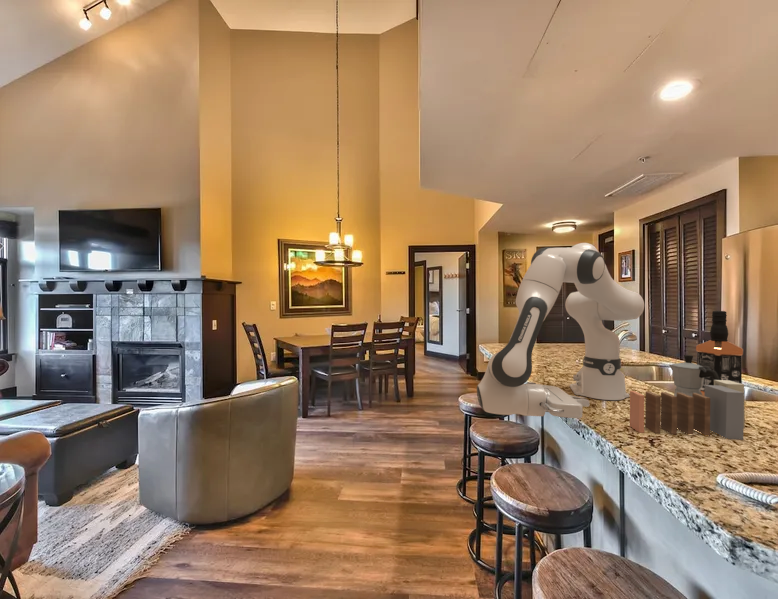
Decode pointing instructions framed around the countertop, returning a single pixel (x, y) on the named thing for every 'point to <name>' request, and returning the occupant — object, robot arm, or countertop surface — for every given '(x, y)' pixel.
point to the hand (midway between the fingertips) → (587, 402)
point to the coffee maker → (691, 376)
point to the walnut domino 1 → (653, 412)
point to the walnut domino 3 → (685, 413)
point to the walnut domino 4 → (701, 413)
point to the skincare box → (731, 387)
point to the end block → (726, 411)
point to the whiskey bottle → (720, 352)
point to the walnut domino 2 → (669, 412)
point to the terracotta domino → (637, 411)
